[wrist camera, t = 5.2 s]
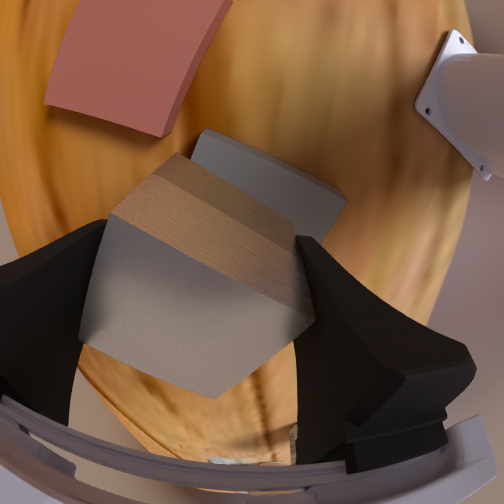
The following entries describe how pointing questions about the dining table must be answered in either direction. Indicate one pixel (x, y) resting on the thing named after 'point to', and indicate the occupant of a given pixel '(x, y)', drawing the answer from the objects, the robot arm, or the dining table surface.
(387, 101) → the dining table surface
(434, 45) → the dining table surface
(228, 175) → the stand
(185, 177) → the grey cube
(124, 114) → the stand
